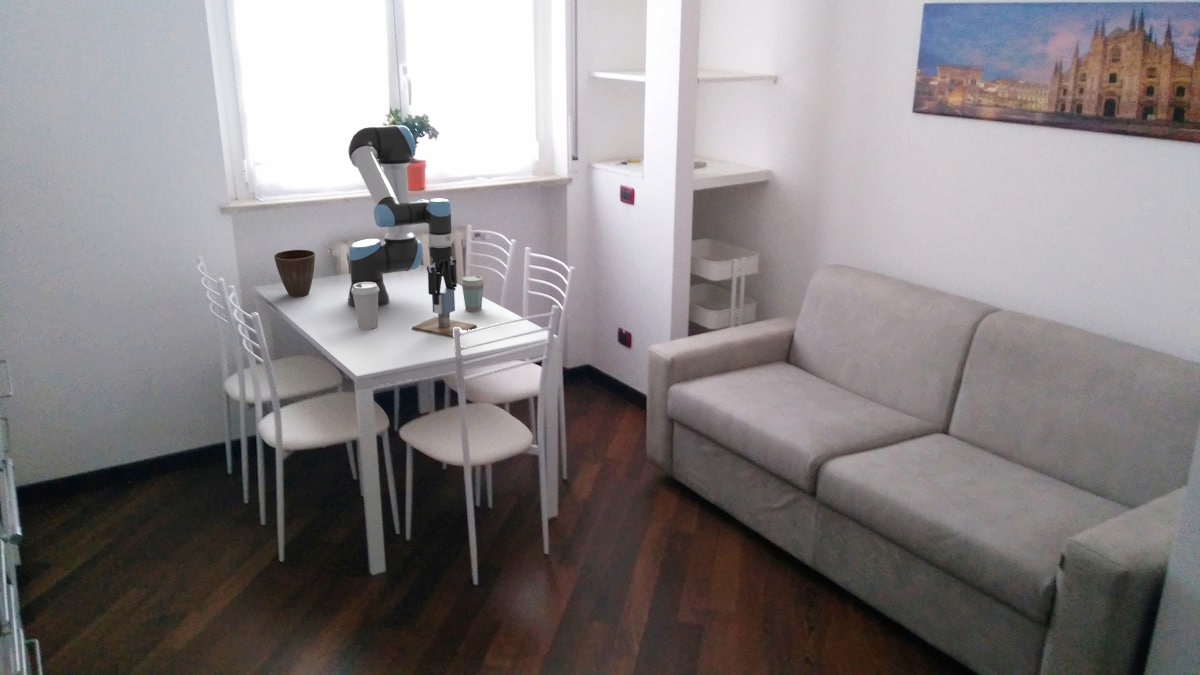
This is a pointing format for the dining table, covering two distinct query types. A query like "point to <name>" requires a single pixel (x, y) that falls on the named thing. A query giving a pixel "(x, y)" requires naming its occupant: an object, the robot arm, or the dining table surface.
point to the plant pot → (296, 271)
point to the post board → (442, 330)
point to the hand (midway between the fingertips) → (443, 310)
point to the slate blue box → (446, 300)
